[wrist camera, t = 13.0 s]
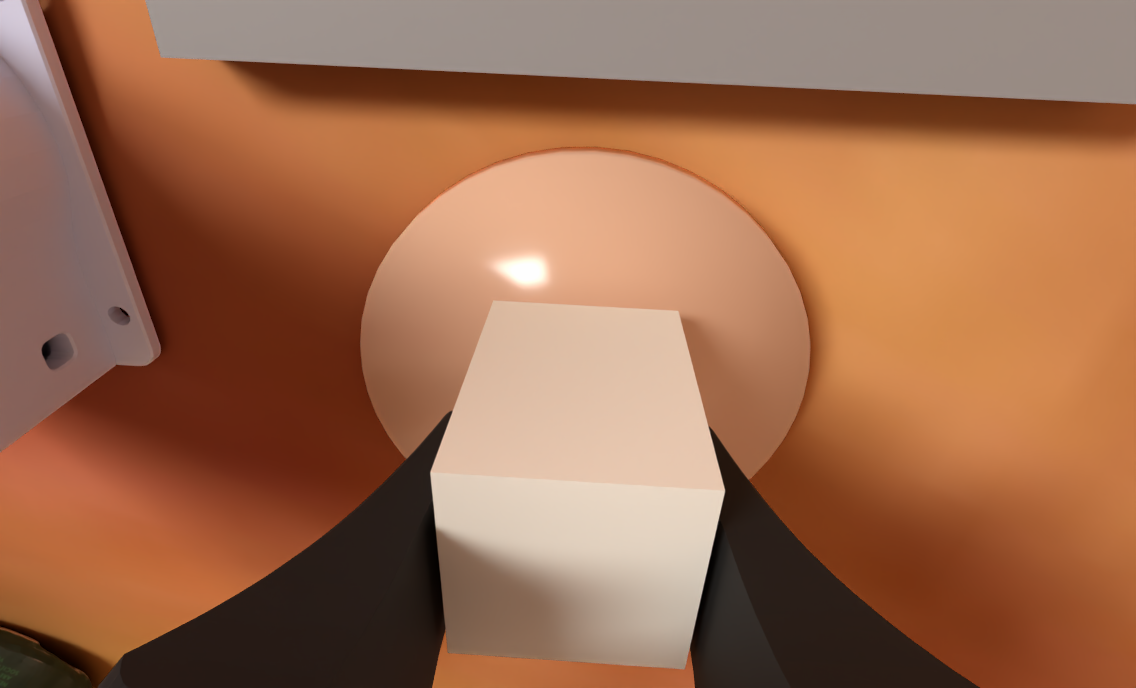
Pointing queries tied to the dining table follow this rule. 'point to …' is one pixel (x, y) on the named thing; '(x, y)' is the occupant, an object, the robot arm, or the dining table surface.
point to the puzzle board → (692, 41)
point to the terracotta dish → (589, 286)
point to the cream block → (576, 489)
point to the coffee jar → (34, 665)
